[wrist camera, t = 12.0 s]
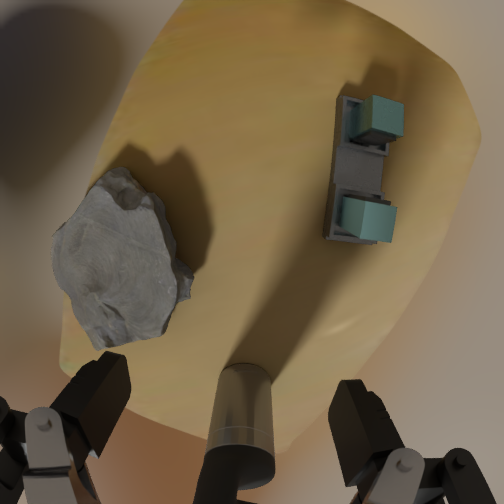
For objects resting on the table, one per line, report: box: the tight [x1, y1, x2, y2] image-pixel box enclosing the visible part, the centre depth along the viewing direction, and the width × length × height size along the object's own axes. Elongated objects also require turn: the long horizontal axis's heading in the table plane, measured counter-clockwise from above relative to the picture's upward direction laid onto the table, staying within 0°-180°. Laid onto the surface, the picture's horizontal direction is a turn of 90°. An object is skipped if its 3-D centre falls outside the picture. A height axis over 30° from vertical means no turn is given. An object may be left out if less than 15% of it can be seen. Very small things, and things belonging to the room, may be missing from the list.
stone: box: [51, 167, 194, 351], centre depth 35 cm, size 24×8×25 cm
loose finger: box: [339, 194, 397, 243], centre depth 31 cm, size 4×4×8 cm
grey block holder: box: [322, 95, 404, 245], centre depth 30 cm, size 20×7×10 cm, turn 174°
